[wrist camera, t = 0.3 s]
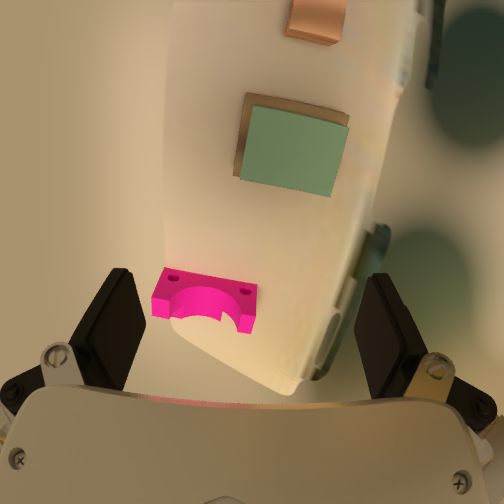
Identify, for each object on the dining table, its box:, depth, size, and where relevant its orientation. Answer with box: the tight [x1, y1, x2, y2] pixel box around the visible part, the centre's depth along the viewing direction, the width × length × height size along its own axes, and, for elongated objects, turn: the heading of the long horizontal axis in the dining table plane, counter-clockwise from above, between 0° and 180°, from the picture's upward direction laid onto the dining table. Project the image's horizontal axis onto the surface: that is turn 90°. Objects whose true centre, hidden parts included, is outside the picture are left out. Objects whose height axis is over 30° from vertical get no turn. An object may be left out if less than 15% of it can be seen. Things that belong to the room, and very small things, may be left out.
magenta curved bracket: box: [151, 267, 257, 334], centre depth 47 cm, size 15×6×8 cm, turn 79°
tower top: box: [240, 104, 349, 197], centre depth 32 cm, size 8×10×4 cm
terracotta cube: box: [285, 0, 348, 46], centre depth 26 cm, size 6×6×6 cm
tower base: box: [233, 93, 350, 177], centre depth 35 cm, size 10×12×4 cm
